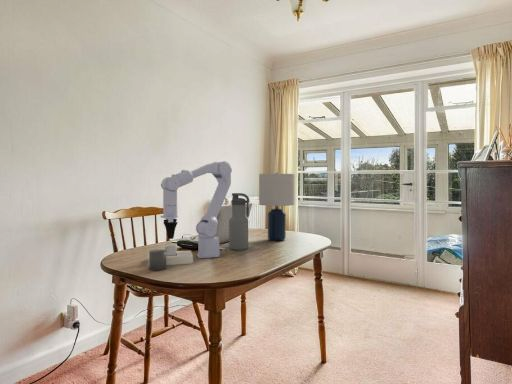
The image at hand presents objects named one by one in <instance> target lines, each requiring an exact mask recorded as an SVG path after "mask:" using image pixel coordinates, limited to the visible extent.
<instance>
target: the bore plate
mask: <svg viewBox="0 0 512 384" xmlns="http://www.w3.org/2000/svg"><path fill="white" fill-rule="evenodd" d="M187 264H188V265H189V264H190V265H191V264H194V255H193V252H192V250H176V256H166V266H173V265H174V266H175V265H187ZM147 267H149V254H148V256H147Z"/></svg>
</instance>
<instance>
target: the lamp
mask: <svg viewBox="0 0 512 384" xmlns="http://www.w3.org/2000/svg"><path fill="white" fill-rule="evenodd" d="M295 175H296V174H295V173H279V172H275V173H259V174H258V176H259V177H258V205H260V206H266V207H267V206H268V207H269V206H271V207H272V206H273V207H274V208H271V209H270V210H269V211H268V213H267V239H268V241H272V242H283V241H284V240H286V233H287V231H286V226H287V225H286V224H287V222H286V220H287V219H286V218H287V217H286V212H285V211H284V209H283V208H280V207H287V206H288V207H289V206H295V200H296V198H295V197H296V196H295V193H296V192H295V188H296V187H295V186H296V185H295V183H296V182H295V181H296V179H295V177H296V176H295Z"/></svg>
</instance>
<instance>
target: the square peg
mask: <svg viewBox="0 0 512 384" xmlns="http://www.w3.org/2000/svg"><path fill="white" fill-rule="evenodd" d="M164 250H166V256H176V251H177V250H176V244H175V243H173V244H171V243H167V244H165V246H164Z"/></svg>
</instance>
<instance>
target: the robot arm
mask: <svg viewBox="0 0 512 384" xmlns="http://www.w3.org/2000/svg"><path fill="white" fill-rule="evenodd" d="M232 171H233V169H232V166H231V164H230V162H228V161H226V160H225V161H213V162H210V163H207V164H204V165H202V166H200V167H198V168H196V169H193V170H191V171H190V170H188V169H183V170H181V171H180V172H178V173H176V174H171V176H170V177H169V176H167V177H165V178H163V179H162V180H161V183H160V187H161V189H162V193H163V194H162V198H163V199H162V200H163V201H162V203H163V205H162V206H163V207H162V208H163V210H162V211H163V215H160V218H161V219H163V225H164V227H165V230H166V236H167V239H168V240H171V239H172V240H173V239H174V238H175V231H176V228H177V225H178V219H177V218H178V189H179V188H181V187H183V186H186V185H188V184H190V183H193V182H194V179H195V178H198V177H201V176H203V175H206V174H211V175H212V176H213V177H214V178H215V179H216V181H217V183H218V184H217V185H216V188H215V191H214V193H213V196H212V198H211V200H210V203H209V206H208V208H207V210H206V213H205V214H204V215H203V216H202V217H201V219H200V221H198V223H196V225H195V230H196V233H197V234H198V236H197V237H198V238H197V239H198V241H197V242H198V253H196V256H197V258H198V259H207V258H209V259H210V258H220V237H219V235H217V236H216V234H217V232H218V224H219V221H218V216H219V215H220V212H221V209H222V206H223V204H224V201H225V199H226V196H227V194H228V192H229V189H230V187H231V183H232Z"/></svg>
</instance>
